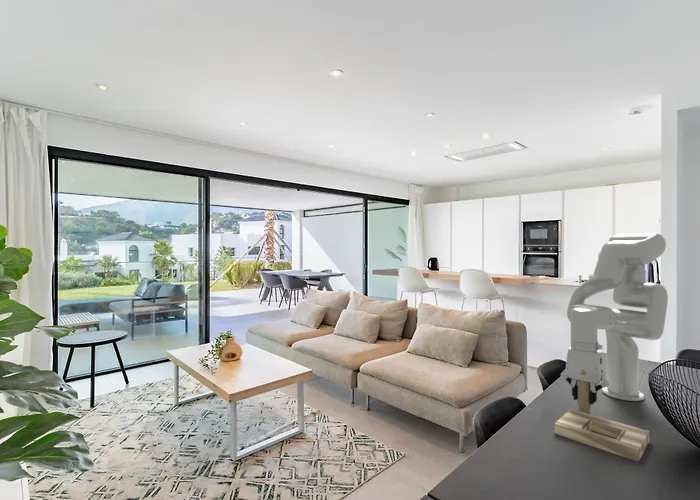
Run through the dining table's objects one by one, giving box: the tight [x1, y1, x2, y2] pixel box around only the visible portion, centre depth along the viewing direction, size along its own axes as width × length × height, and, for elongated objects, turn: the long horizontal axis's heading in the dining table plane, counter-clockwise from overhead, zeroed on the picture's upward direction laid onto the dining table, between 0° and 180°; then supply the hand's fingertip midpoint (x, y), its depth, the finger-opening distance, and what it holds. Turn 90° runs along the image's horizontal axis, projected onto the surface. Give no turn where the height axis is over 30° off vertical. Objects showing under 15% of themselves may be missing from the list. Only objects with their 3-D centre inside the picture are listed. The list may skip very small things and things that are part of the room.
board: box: [554, 408, 650, 462], centre depth 108 cm, size 14×20×3 cm
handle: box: [576, 370, 592, 415], centre depth 123 cm, size 5×6×15 cm
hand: (584, 400), depth 123 cm, fingers closed on handle, 4 cm apart
